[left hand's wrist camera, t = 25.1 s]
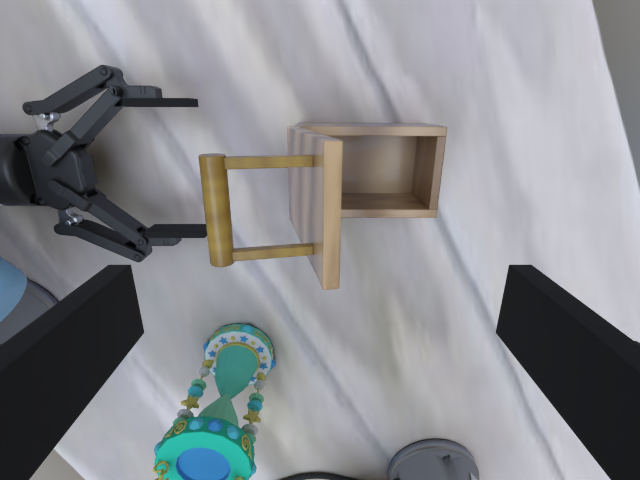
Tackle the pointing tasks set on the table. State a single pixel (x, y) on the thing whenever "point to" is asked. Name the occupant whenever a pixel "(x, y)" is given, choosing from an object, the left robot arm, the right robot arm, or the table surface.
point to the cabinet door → (304, 202)
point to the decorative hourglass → (219, 412)
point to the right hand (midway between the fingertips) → (201, 170)
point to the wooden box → (388, 167)
